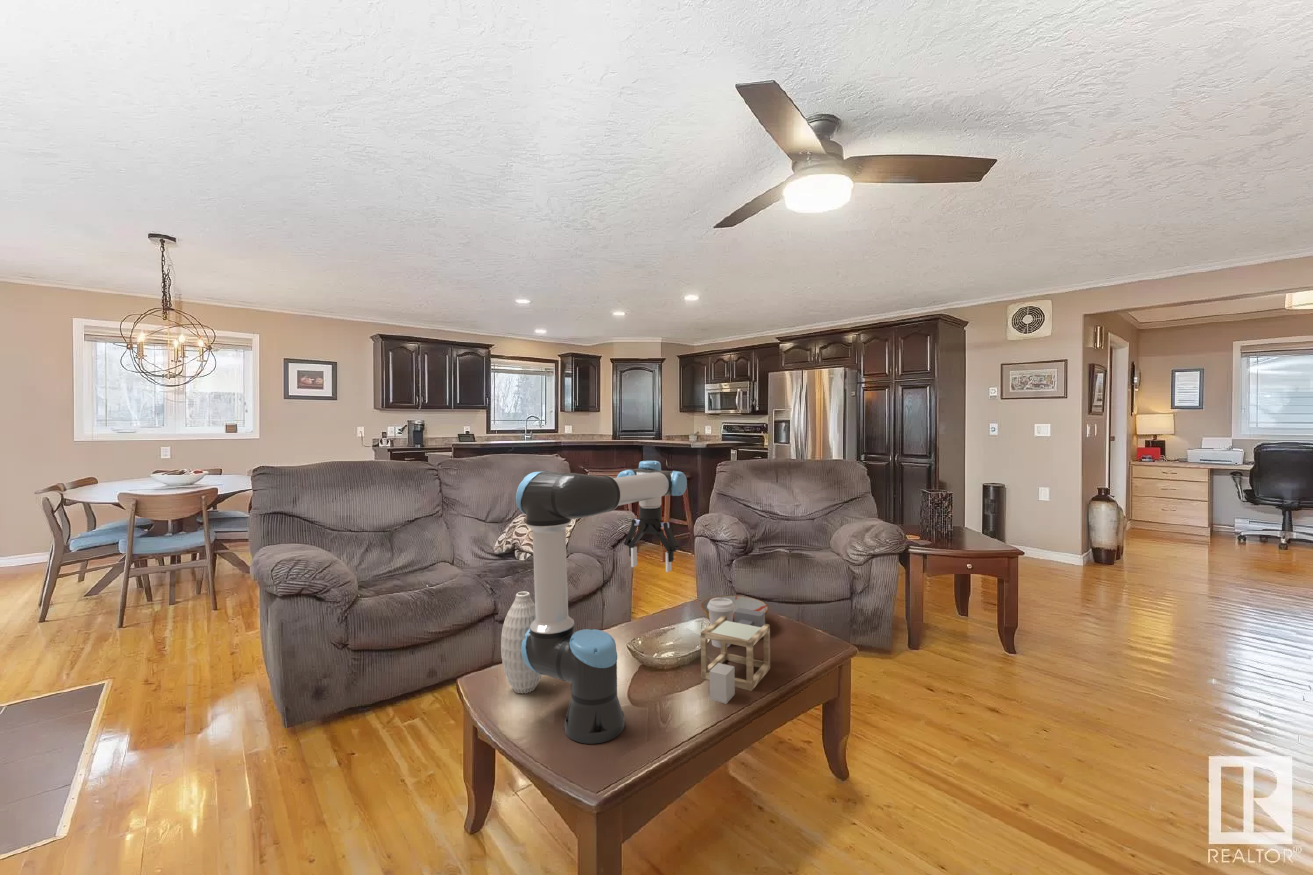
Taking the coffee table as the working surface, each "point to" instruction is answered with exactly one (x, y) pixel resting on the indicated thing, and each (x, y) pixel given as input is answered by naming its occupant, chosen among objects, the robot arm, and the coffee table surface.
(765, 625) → the maple stand
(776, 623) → the coffee table surface
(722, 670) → the light gray block
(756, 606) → the bowl
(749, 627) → the trapdoor
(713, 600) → the coffee cup
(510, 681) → the vase
